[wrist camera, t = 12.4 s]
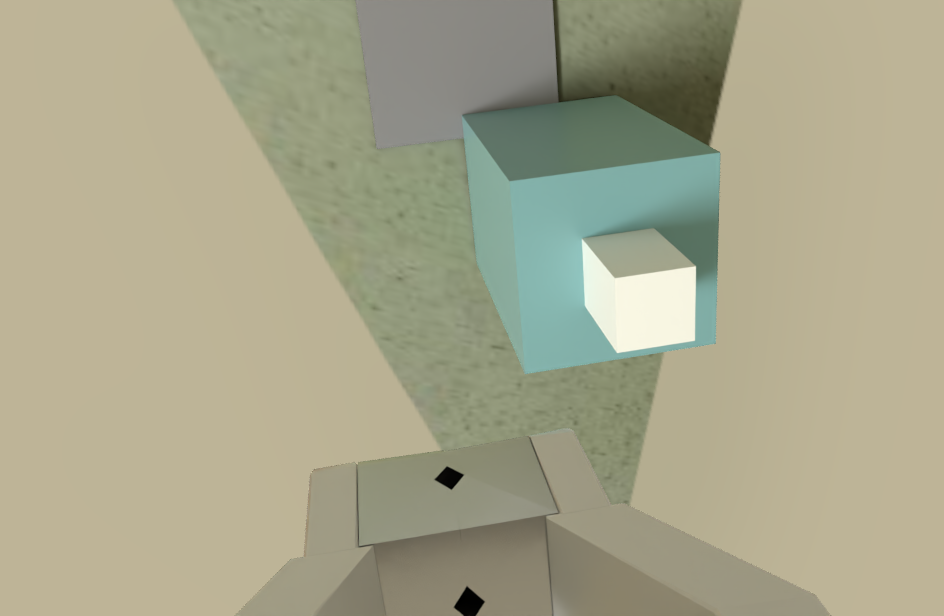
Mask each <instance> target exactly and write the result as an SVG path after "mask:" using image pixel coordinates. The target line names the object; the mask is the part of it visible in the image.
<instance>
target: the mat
mask: <svg viewBox="0 0 944 616" xmlns="http://www.w3.org/2000/svg"><path fill="white" fill-rule="evenodd" d="M356 7H357V14H358V21H359V28H360V35H361V42H362V49H363V56H364V63H365V70H366V77H367V84H368V91H369V98H370V105H371V112H372V119H373V125H374V132H375V139H376V146H377V149H380V148H388V147H396V146H404V145H412V144H420V143H428V142H436V141H444V140H452V139H459V138H464V133H463V124H462V115H466V114H473V113H481V112H489V111H497V110H504V109H512V108H520V107H528V106H535V105H543V104H551V103H559V102H558V85H557V68H556V51H555V35H554V18H553V1H552V0H356Z"/></svg>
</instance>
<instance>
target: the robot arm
mask: <svg viewBox="0 0 944 616" xmlns="http://www.w3.org/2000/svg"><path fill="white" fill-rule="evenodd" d="M235 616H831V615H830V614H829V612H828V611H827V610H826V608H825V607H824V606H823V605H822V603H821V602H820V601H819V599H818V598H817V596H816V595H815V594H813V593H811V592H809V591H806V590H804V589H802V588H800V587H798V586H796V585H794V584H792V583H790V582H787V581H785V580H783V579H781V578H779V577H777V576H775V575H773V574H771V573H769V572H767V571H765V570H762V569H760V568H758V567H756V566H754V565H752V564H750V563H748V562H746V561H743V560H742V559H739V558H737V557H735V556H733V555H731V554H729V553H727V552H725V551H723V550H720V549H719V548H716V547H714V546H712V545H710V544H708V543H706V542H704V541H702V540H700V539H698V538H695V537H693V536H691V535H689V534H687V533H685V532H683V531H681V530H679V529H677V528H674V527H672V526H670V525H668V524H666V523H664V522H662V521H660V520H658V519H656V518H654V517H651V516H649V515H647V514H645V513H643V512H641V511H639V510H637V509H635V508H633V507H631V506H629V505H626V504H624V503H622V504H615V505H611V503H610V501H609V499H608V498H607V496H606V494H605V492H604V490H603V488H602V486H601V484H600V482H599V480H598V478H597V476H596V474H595V472H594V470H593V468H592V466H591V464H590V462H589V460H588V458H587V456H586V454H585V452H584V450H583V448H582V446H581V444H580V443H579V441H578V439H577V437H576V435H575V433H574V431H573V430H571V429H569V428H565V429H560V430H555V431H550V432H545V433H540V434H535V435H530V436H524V437H519V438H513V439H508V440H502V441H497V442H492V443H486V444H481V445H475V446H470V447H464V448H459V449H454V450H448V451H444V450H442V451H435V452H428V453H421V454H414V455H406V456H399V457H392V458H385V459H378V460H370V461H363V462H358V465H357V464H356V463H355V462H352V463H347V464H341V465H336V466H330V467H324V468H318V469H314V470H313V471H312V473H311V474H310V481H309V494H308V506H307V519H306V532H305V546H304V557H300V558H294V559H290V560H289V561H288V562H287V563H286V564H285V565H284V566H283V567H282V568H281V569H280V570H279V571H278V572H277V573H276V574H275V575H274V576H273V578H271V579H270V581H268V582H267V584H265V586H263V587H262V589H260V591H259V592H258V593H257V594H256V595H255V596H254V597H253V598H252V599H251V600H250V601H249V602H248V603H247V604H246V605H245V606H244V607H243V608H242V609H241V610H240V611H239V612H238V613H237V614H236V615H235Z"/></svg>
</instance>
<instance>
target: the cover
mask: <svg viewBox="0 0 944 616" xmlns="http://www.w3.org/2000/svg"><path fill="white" fill-rule="evenodd" d="M462 124H463V133H464V143H465V153H466V163H467V172H468V182H469V192H470V202H471V211H472V221H473V231H474V241H475V250H476V260H477V265H478V267H479V269H480V272H481V274H482V276H483V279H484V281H485V283H486V285H487V288H488V290H489V292H490V295H491V297H492V299H493V301H494V304H495V306H496V308H497V311H498V313H499V315H500V318H501V320H502V322H503V324H504V327H505V329H506V331H507V334H508V336H509V338H510V340H511V343H512V345H513V347H514V350H515V352H516V354H517V357H518V359H519V361H520V363H521V366H522V368H523V370H524V373H525V374H528V373H535V372H541V371H547V370H553V369H560V368H566V367H572V366H579V365H585V364H591V363H597V362H604V361H610V360H616V359H622V358H629V357H635V356H641V355H647V354H654V353H660V352H666V351H672V350H678V349H685V348H691V347H698V346H704V345H709V344H715V343H716V305H717V304H716V302H717V262H718V223H719V185H720V184H719V183H720V152H719V151H717V150H715V149H713V148H711V147H709V146H708V145H706V144H704V143H702V142H700V141H699V140H697V139H695V138H693V137H691V136H690V135H688V134H686V133H684V132H682V131H680V130H679V129H677V128H675V127H673V126H671V125H670V124H668V123H666V122H664V121H662V120H661V119H659V118H657V117H655V116H653V115H651V114H650V113H648V112H646V111H644V110H642V109H641V108H639V107H637V106H635V105H633V104H632V103H630V102H628V101H626V100H624V99H622V98H621V97H619V96H617V95H613V96H605V97H597V98H590V99H582V100H574V101H566V102H559V103H551V104H543V105H535V106H528V107H520V108H512V109H504V110H497V111H489V112H481V113H473V114H466V115H462Z"/></svg>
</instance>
